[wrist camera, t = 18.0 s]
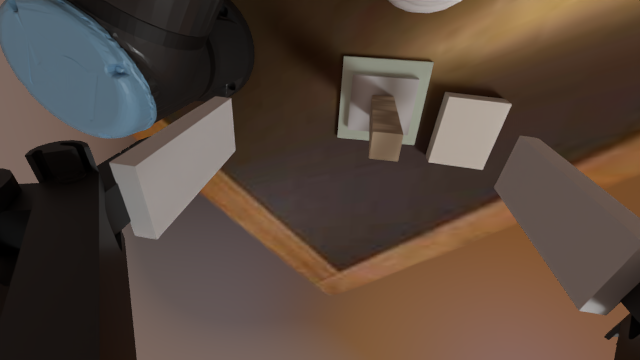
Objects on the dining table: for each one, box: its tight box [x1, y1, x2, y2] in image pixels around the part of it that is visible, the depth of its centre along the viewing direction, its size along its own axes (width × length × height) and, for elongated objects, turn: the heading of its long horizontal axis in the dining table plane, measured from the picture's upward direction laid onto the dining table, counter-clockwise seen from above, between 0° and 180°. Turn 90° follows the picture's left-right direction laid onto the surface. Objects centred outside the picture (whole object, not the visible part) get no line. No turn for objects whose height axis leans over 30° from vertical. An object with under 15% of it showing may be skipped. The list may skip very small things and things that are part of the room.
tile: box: [426, 92, 512, 170], centre depth 42 cm, size 3×10×8 cm
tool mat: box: [337, 56, 434, 145], centre depth 42 cm, size 12×12×1 cm
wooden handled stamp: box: [347, 73, 420, 161], centre depth 35 cm, size 9×8×15 cm
